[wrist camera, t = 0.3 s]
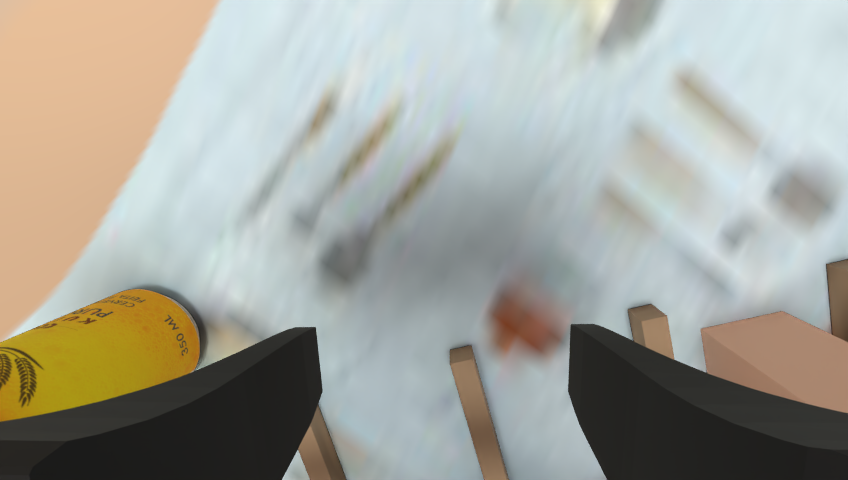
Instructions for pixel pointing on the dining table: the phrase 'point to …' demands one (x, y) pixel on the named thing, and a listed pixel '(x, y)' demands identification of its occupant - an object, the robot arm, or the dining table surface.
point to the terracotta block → (780, 359)
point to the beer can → (97, 354)
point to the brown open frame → (324, 464)
